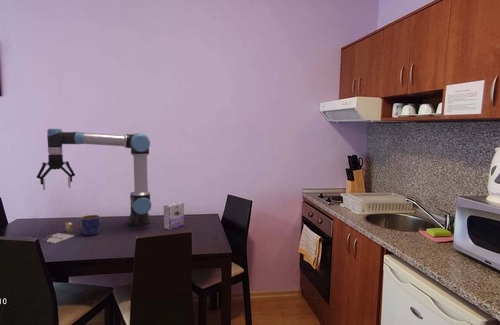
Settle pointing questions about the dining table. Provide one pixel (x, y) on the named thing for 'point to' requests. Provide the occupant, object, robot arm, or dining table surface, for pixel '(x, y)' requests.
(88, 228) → the planter
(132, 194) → the robot arm
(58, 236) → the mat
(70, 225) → the brass tin
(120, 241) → the dining table surface
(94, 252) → the dining table surface
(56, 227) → the dining table surface
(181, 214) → the candy box
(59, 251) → the dining table surface
